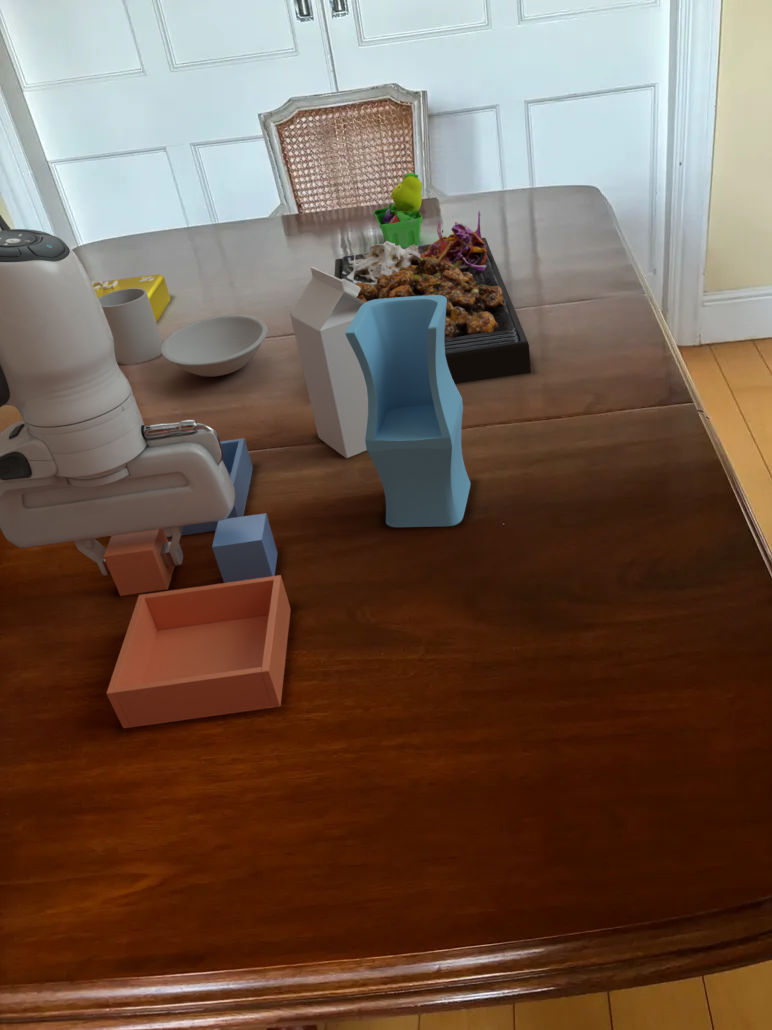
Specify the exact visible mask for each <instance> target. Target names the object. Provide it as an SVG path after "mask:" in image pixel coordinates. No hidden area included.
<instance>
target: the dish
mask: <svg viewBox="0 0 772 1030" xmlns="http://www.w3.org/2000/svg"><path fill="white" fill-rule="evenodd" d="M267 335H268V326H267V324H266V323H265V322H264V321H263V320H262V319H260V318H259V317H255V316H253V315H249V314H237V313H236V314H235V313H234V314H232V313H231V314H220V315H215V316H210V317H206V318H202V319H199V320H196V321H193V322H191V323H188V324H186V325H184V326H182V327H180V328H178V329H177V330H175V331H173V332H172V333H171V334H170V335H168V336H167V337H166V338H165V339H164V341H163V344H162V347H161V353H162V354H161V355H162V357H163V358H164V359H165V360H166V361H167V362H169V363H170V364H173V365H176V366H177V367H178V368H180V369H181V370H183V371H185V372H188V373H190V374H193V375H195V376H201V377H220V376H224V375H229V374H231V373H234V372H236V371H238V370H240V369H242V368H243V367H245V366H246V365H247V364H249V363H250V362H251V360H252V359H253V358H254V357H255V356H256V354H257V352H258V351H259V349H260V348H261V345H262V343H263V342H264V341H265V339H266V338H267Z"/></svg>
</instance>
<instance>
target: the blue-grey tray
mask: <svg viewBox="0 0 772 1030" xmlns="http://www.w3.org/2000/svg"><path fill="white" fill-rule="evenodd" d="M220 443H221V446H222V449H223V459H222V460H223V462H224V465H225V467H226V469H227V471H228V473H229V476H230V478H231V481H232V483H233V486H234V489H235V503H234V507H233V509H232V511H231V513H230V514H229V516H228V517H227V519H229V518H236V517H243V516H245V515H244V514H245V510H246V505H247V500H248V494H249V491H250V485H251V479H252V474H253V470H254V469H253V468H254V466H253V463H252V460H251V456H250V453H249V449H248V445H247V443H246V439H245V438H244V437H243V438H242V437H241V438H236V439H228V440H220ZM217 524H218V521H214V522H206V523H199V524H192V525H185V526H184V527H183V530H182V534H181V536H186V535H192V534H193V535H194V534H200V533H201V534H202V533H206V532H207V533H208V532H216V528H217ZM166 537H167V536H166ZM167 538H172V536H169V537H167Z"/></svg>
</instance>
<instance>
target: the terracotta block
mask: <svg viewBox="0 0 772 1030" xmlns="http://www.w3.org/2000/svg"><path fill="white" fill-rule="evenodd" d="M165 542H169V540H168V537H166V536H165V533H164V530H163V529H157V530H149V531H142V532H135V533H128V534H121V535H114V536H110V538H109V541H108V543H107V546H106V547H105V548H106V551H105V553H104V556H103V557H104V559H105V562H106V564H107V566H108V568H109V571H110V573H111V575H110V576H111V578H112V580H113V583H114V584H115V587H116V589H117V591H118V594H119V596H120V597H123V596H130V595H136V594H145V593H152V592H157V591H158V592H159V591H164V590H165V591H167V590H168V589H169V587H170V583H171V581H172V577H173V573H174V570H175V567H176V566H169V567H166V566H165V565H164V560H163V559H162V557H161V554H160V552H161V549H162V546H163V543H165Z"/></svg>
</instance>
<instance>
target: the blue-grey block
mask: <svg viewBox="0 0 772 1030" xmlns="http://www.w3.org/2000/svg"><path fill="white" fill-rule="evenodd" d="M211 549H212V552H213V555H214V557H215V560H216V563H217V566H218V569H219V572H220V576H221V578H222V581H223V583H228V582H235V581H242V580H250V579H257V578H264V577H271V576H276V570H277V569H276V568H277V563H278V561H277V560H278V549H277V546H276V543H275V539H274V536H273V531H272V528H271V524H270V520H269V517H268V514H267V513H266V512H265V513H258V514H250V515H243V517H236V518H229V519H225V520H221V521H218V524H217V528H216V531H214V536H213V541H212V544H211Z"/></svg>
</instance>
